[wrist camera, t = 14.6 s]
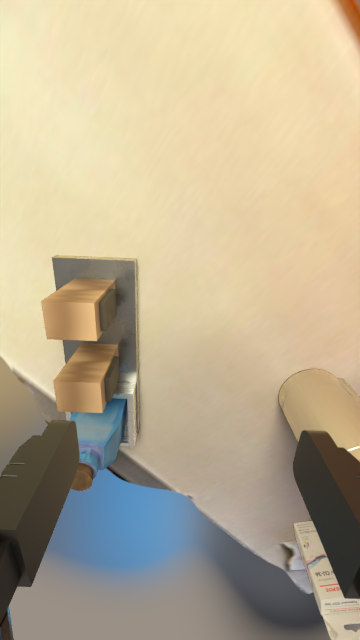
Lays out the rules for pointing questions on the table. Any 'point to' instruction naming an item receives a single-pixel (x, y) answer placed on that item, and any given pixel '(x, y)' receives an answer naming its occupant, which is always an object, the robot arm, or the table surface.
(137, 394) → the grey rectangular tray
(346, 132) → the table surface
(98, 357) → the walnut finger rear
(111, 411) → the perfume bottle
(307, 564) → the ink cartridge box
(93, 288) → the walnut finger front
